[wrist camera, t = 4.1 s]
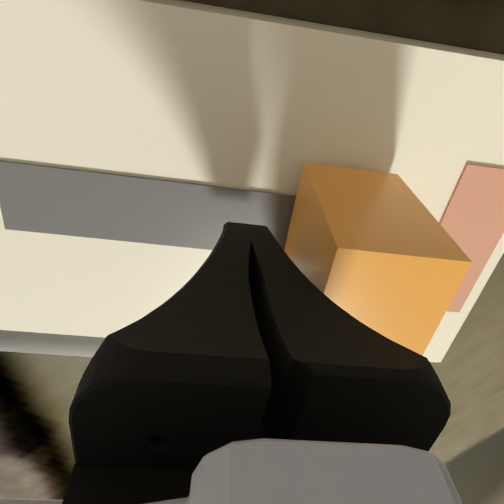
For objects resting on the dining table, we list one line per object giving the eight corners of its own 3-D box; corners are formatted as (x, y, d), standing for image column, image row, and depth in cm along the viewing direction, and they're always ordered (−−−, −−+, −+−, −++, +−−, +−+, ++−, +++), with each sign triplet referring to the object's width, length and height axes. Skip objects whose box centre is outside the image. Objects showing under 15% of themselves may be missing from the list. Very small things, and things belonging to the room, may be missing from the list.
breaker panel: (-52, 275, 18) (-98, 324, 16) (-156, -57, 12) (-262, -66, 9) (415, 316, 21) (441, 364, 18) (539, 60, 14) (606, 78, 12)
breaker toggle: (274, 290, 15) (290, 400, 11) (303, 162, 13) (337, 248, 9) (352, 297, 16) (394, 407, 12) (397, 174, 13) (472, 262, 9)
